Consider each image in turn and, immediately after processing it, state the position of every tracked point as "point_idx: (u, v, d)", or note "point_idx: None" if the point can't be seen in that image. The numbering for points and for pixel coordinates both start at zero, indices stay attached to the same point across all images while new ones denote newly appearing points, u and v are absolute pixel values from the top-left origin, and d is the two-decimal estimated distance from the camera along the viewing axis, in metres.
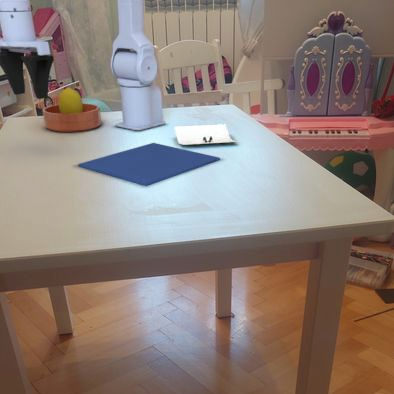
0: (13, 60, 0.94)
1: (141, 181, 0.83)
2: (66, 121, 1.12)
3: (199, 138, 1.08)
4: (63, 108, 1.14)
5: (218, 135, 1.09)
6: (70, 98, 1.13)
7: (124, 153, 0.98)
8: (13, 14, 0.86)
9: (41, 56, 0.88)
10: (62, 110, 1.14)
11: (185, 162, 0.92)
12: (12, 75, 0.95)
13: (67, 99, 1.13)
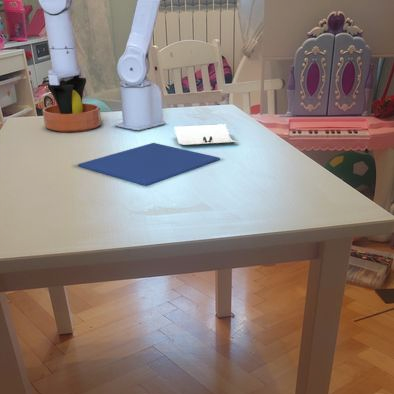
0: None
1: (141, 181, 0.83)
2: (66, 121, 1.12)
3: (199, 138, 1.08)
4: None
5: (218, 135, 1.09)
6: None
7: (124, 153, 0.98)
8: (51, 51, 1.08)
9: (56, 85, 1.09)
10: None
11: (185, 162, 0.92)
12: None
13: None
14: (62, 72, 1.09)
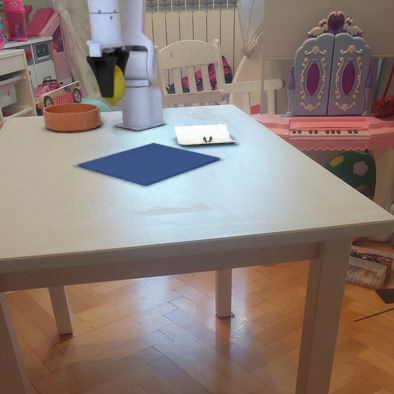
0: None
1: (141, 181, 0.83)
2: (66, 121, 1.12)
3: (199, 138, 1.08)
4: None
5: (218, 135, 1.09)
6: None
7: (124, 153, 0.98)
8: (91, 16, 0.90)
9: (97, 57, 0.91)
10: None
11: (185, 162, 0.92)
12: None
13: None
14: (104, 42, 0.91)
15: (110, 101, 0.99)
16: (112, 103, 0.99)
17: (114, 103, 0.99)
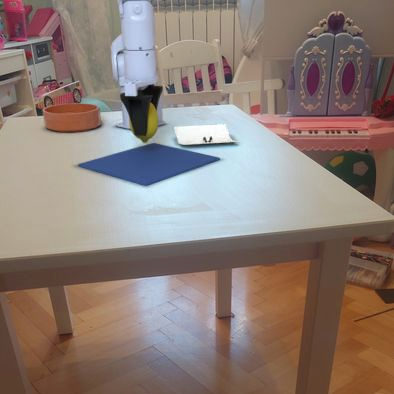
0: None
1: (141, 181, 0.83)
2: (66, 121, 1.12)
3: (199, 138, 1.08)
4: None
5: (218, 135, 1.09)
6: None
7: (124, 153, 0.98)
8: (126, 52, 0.85)
9: (132, 96, 0.86)
10: None
11: (185, 162, 0.92)
12: None
13: None
14: (139, 79, 0.87)
15: (142, 138, 0.94)
16: (144, 140, 0.95)
17: (146, 140, 0.95)
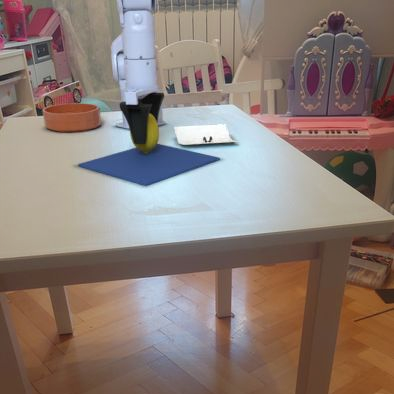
0: (148, 102, 0.95)
1: (141, 181, 0.83)
2: (66, 121, 1.12)
3: (199, 138, 1.08)
4: None
5: (218, 135, 1.09)
6: None
7: (124, 153, 0.98)
8: (127, 61, 0.86)
9: (132, 105, 0.87)
10: None
11: (185, 162, 0.92)
12: None
13: None
14: (139, 88, 0.88)
15: (143, 149, 0.95)
16: (145, 151, 0.96)
17: (147, 151, 0.96)
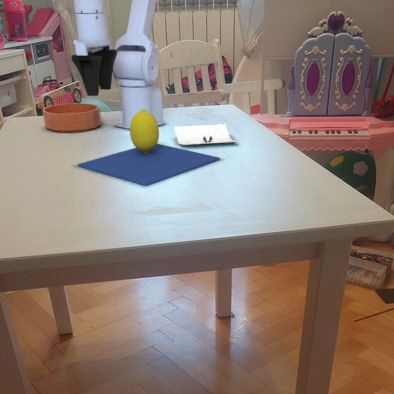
0: (102, 58, 1.02)
1: (141, 181, 0.83)
2: (66, 121, 1.12)
3: (199, 138, 1.08)
4: (137, 135, 0.93)
5: (218, 135, 1.09)
6: (146, 123, 0.92)
7: (124, 153, 0.98)
8: (77, 16, 0.93)
9: (82, 56, 0.93)
10: (135, 137, 0.93)
11: (185, 162, 0.92)
12: (99, 71, 1.03)
13: (142, 125, 0.92)
14: (90, 41, 0.94)
15: (143, 149, 0.95)
16: (145, 151, 0.96)
17: (147, 151, 0.96)
